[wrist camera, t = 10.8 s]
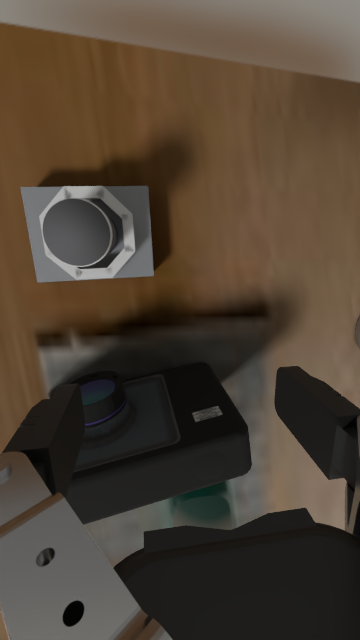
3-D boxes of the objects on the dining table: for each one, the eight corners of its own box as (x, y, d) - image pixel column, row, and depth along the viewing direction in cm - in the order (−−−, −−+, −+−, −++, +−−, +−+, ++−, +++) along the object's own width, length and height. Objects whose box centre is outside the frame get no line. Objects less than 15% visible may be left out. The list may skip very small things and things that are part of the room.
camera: (206, 333, 37) (253, 393, 23) (214, 397, 40) (260, 486, 26) (28, 369, 34) (-45, 461, 20) (51, 435, 37) (1, 555, 23)
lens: (116, 207, 28) (108, 197, 21) (120, 258, 30) (113, 266, 22) (64, 207, 27) (35, 196, 20) (70, 259, 29) (46, 268, 21)
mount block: (146, 190, 31) (149, 181, 26) (152, 272, 34) (155, 278, 29) (31, 192, 29) (11, 183, 25) (46, 278, 32) (30, 285, 27)
